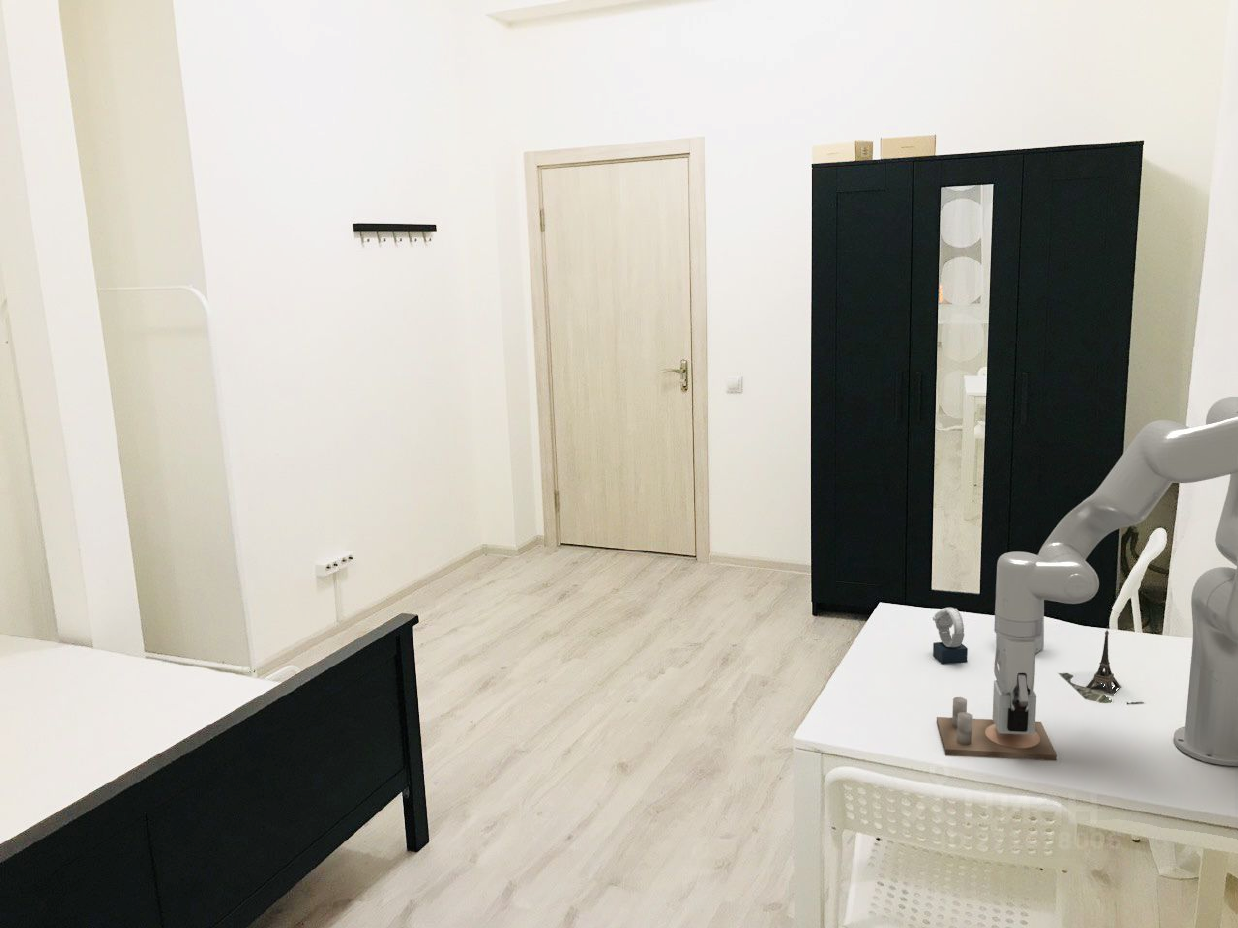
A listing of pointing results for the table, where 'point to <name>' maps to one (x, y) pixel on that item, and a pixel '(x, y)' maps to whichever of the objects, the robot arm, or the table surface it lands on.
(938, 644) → the watch
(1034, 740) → the board
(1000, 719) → the skincare box
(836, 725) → the table surface
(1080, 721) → the table surface
